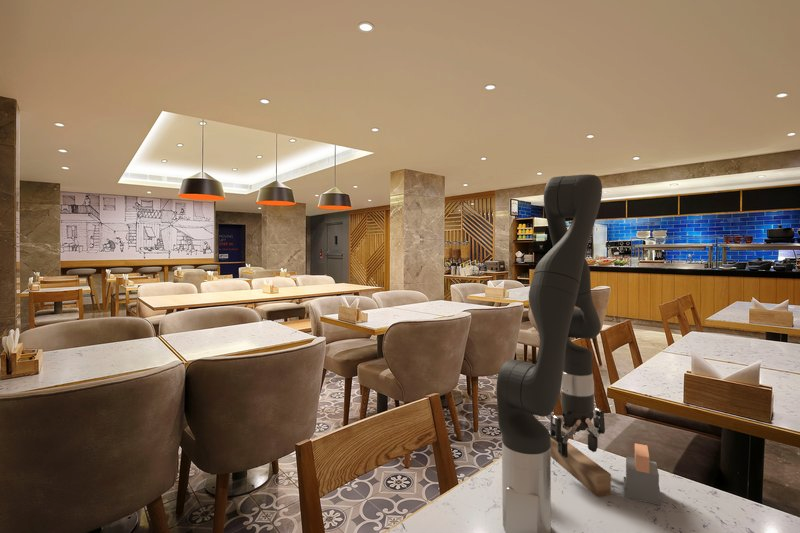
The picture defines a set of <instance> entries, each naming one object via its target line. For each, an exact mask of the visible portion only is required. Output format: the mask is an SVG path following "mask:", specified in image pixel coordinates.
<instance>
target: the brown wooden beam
mask: <svg viewBox="0 0 800 533" xmlns="http://www.w3.org/2000/svg"><path fill="white" fill-rule="evenodd" d="M550 438H551V437H550ZM567 446H568V457H567V458H564V457H562V456H561V455H560V454H559V453H558V442H556V441H555V440H554V439H552V438H551V458H552V459H553V460H554V461H555V462H556V463H557V464H559V465H560V466H561V467H562V468H563V469H564V470H565V471H567V472H568V473H569V474H570V475H571V476H573V478H574V479H576V480H577V481H578V482H579V483H580V484H581V485H583V486H584V487H585V488H586V489H587V490H588V491H590V492H591V493H592V494H593V495H594V496H595V497H597V498H600V497H604V496H611V494H612V488H611V486H612V474H611V473H610V472H609V471H607V470H606V469H605V468H604V467H602V466H601V465H599V464H598V463H597V462H595V461H594V460H593V459H592V458H590V457H589V456H588V455H586V454H584V453H583V452H582V451H581V450H579V449H578V448H576V447H575V446H574V445H572V444H571V443H570V442H568V441H567Z"/></svg>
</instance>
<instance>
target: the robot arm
mask: <svg viewBox="0 0 800 533" xmlns="http://www.w3.org/2000/svg"><path fill="white" fill-rule="evenodd" d="M543 191H544V192H543V205H544V206H543V207H544V212H545V213H544V214H545V217H546V222H547V226H548V231H549V236H550V240H551V244H552V248H550V250H548V251H547V253H545V255H543V257H542V258H541V259H540V260H539V261H538V263H536V266H535V267H534V271H533V274H532V279H531V283H530V286H529V291H528V303H529V307H530V310H531V313H532V314H531V315H532V316H533V319H534V322H535V324H536V328H537V332H538V336H539V346H538V347H539V349H538V355H537V361H536V363H531V362H529V361H523V360H518V359H509V360H507V361H505V362H504V363H503V364H502V365H501V367H500V369H499V372H498V374H497V379H496V390H495V391H496V405H497V407H496V410H497V422H498V428H499V431H500V433H501V434H502V435H501V434H500V435H501V463H502V464H501V480H502V482H501V483H502V487H501V488H502V489H501V491H502V494H501V495H502V503H501V504H502V526H503V529H504V530H505V533H552V504H551V503H552V499H551V498H552V496H551V495H552V487H551V484H552V482H551V481H552V480H551V478H552V477H551V476H552V474H551V470H552V469H551V466H552V465H551V464H552V463H551V460H552V459H551V458H552V457H551V438H552V439H554V440H555V441H556V442H558V453H559V454H560V455H561V456H562V457H564V458H567V457H568V446H567V442H568V441H569V440H570V437H573V436H574V434H575V433H577V432H580V431H582V432H583V431H587V433H588V434H587V448H588V450H589V451H591V452H592V453H596V452H597V449H598V447H599V445H598V444H599V443H598V442H599V441H598V438H599V436H600V434H602V435H604V434H605V433H606V428H605V411H604V410H602V409H600V408H599V407H596V406H595V380H594V374H593V367H594V366H593V352H592V350H591V349H590V348H588V347H585V346H582V345H579V344H576V343H574V342H573V341H572V340H571V338H573V339H584V340H585V339H586V340H591V339H596V338H597V337H598V335H599V334H600V333H601V328H602V327H601V326H602V324H601V320H600V317H599V314H598V312H597V309H596V307H595V304H594V301H593V296H592V288H591V287H592V285H591V284H592V283H591V268H590V266H589V263H588V261H587V259H586V254H587V250H588V246H589V242H590V239H591V236H592V234H593V233H592V232H593V229H594V226H595V222H596V220H597V217H598V214H599V209H600V206H601V202H602V196H603V195H602V194H603V184H602V181H601V178H600V177H599V176H597V175H596V174H573V175H561V176H560V175H559V176H553V177H551V178H549V180H548V181H547V182H546V184H545V186H544V190H543ZM566 219H572V220H571V223H570V225H569V227H567V223H566ZM575 307H577V308H575ZM559 397H560V398H559ZM559 399H560V405H561V408H562V412H561V415H556V414H554V413H553V411H554V410H555V408H556V407H557V405H558V404H557V403H558V401H559ZM550 415H551V416H550ZM535 416H538V417H541V418H545V417H547V416H550V425H549V426H550V429H548V427H546V426H545V425H544V424H543V423H542V422H541V421H539V419H537V417H535ZM592 420H593V422H592ZM567 428H568V429H567ZM549 430H550V431H549ZM550 437H551V438H550Z"/></svg>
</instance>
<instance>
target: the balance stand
mask: <svg viewBox="0 0 800 533" xmlns="http://www.w3.org/2000/svg"><path fill="white" fill-rule="evenodd" d="M623 497H624V498H628V499H632V500H637V501H641V502H645V503H649V504H652V505H653V504H654V505H658V506H662V505H663V504H662V501H663V500H662V495H661V490H660V474H659V470H658V465H657V461H651V460H650V454H649V448H648V445H647V444H642V443H641V444H640V443H636V442H635V443H634V457H631V456H625V476H623Z"/></svg>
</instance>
